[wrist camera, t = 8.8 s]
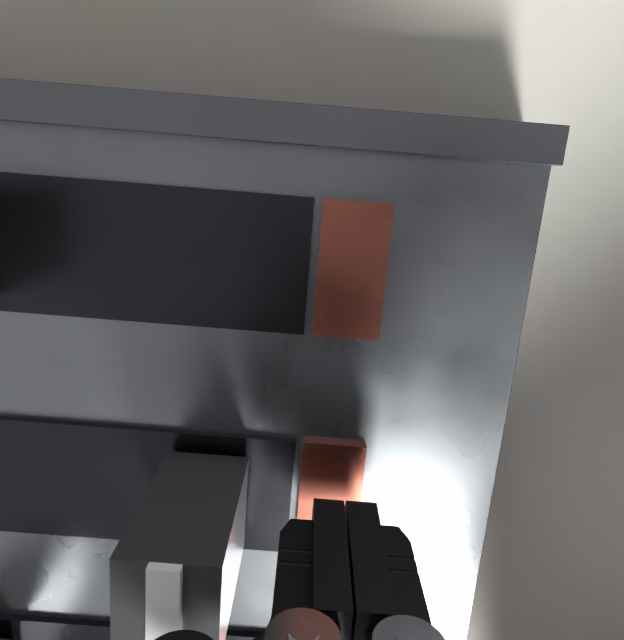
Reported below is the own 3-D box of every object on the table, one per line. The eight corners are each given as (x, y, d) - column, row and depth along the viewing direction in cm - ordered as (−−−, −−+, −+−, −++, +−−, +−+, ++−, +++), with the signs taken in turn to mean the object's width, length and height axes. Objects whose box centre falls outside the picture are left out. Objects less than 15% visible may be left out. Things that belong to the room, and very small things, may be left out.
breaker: (248, 457, 14) (220, 575, 10) (243, 544, 14) (215, 689, 10) (167, 451, 14) (104, 566, 10) (166, 539, 14) (106, 682, 10)
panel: (525, 134, 14) (569, 125, 12) (427, 722, 19) (444, 805, 16) (-270, 68, 14) (-398, 45, 12) (-167, 679, 19) (-242, 758, 16)
